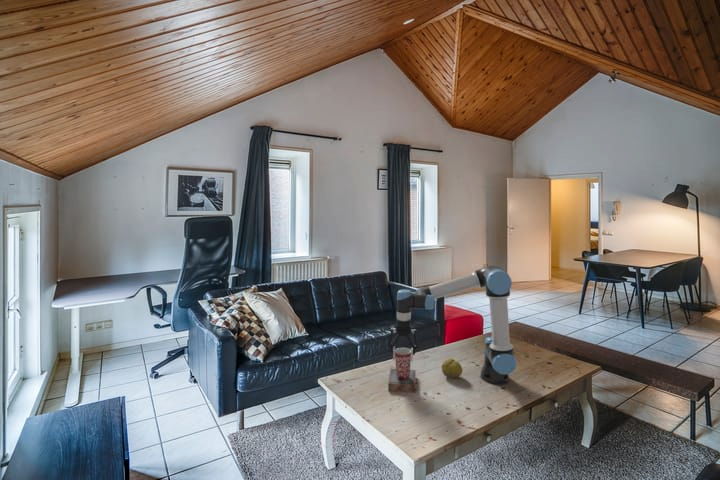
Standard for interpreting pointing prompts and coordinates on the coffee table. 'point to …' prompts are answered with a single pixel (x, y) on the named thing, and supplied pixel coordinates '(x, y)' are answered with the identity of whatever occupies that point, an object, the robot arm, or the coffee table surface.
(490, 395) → the coffee table surface
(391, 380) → the stand
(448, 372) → the fruit
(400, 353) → the mug
